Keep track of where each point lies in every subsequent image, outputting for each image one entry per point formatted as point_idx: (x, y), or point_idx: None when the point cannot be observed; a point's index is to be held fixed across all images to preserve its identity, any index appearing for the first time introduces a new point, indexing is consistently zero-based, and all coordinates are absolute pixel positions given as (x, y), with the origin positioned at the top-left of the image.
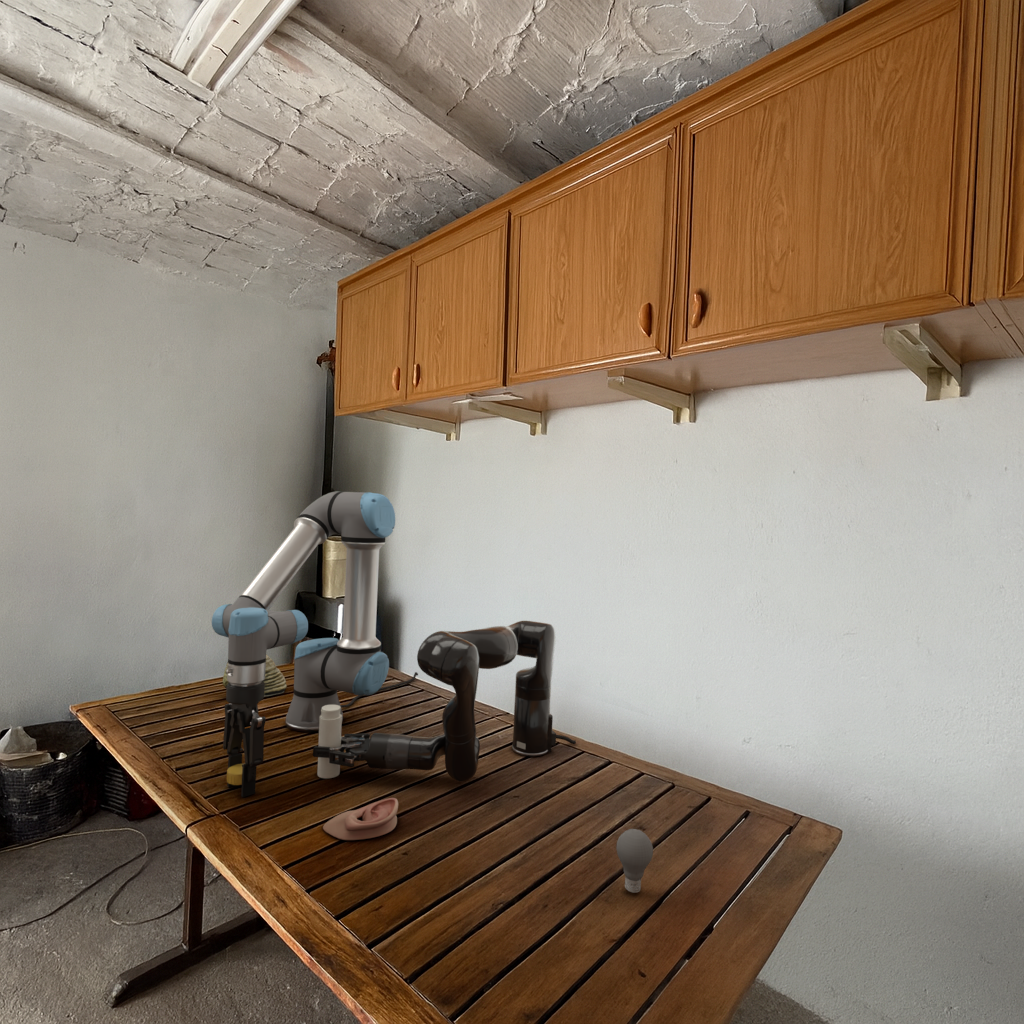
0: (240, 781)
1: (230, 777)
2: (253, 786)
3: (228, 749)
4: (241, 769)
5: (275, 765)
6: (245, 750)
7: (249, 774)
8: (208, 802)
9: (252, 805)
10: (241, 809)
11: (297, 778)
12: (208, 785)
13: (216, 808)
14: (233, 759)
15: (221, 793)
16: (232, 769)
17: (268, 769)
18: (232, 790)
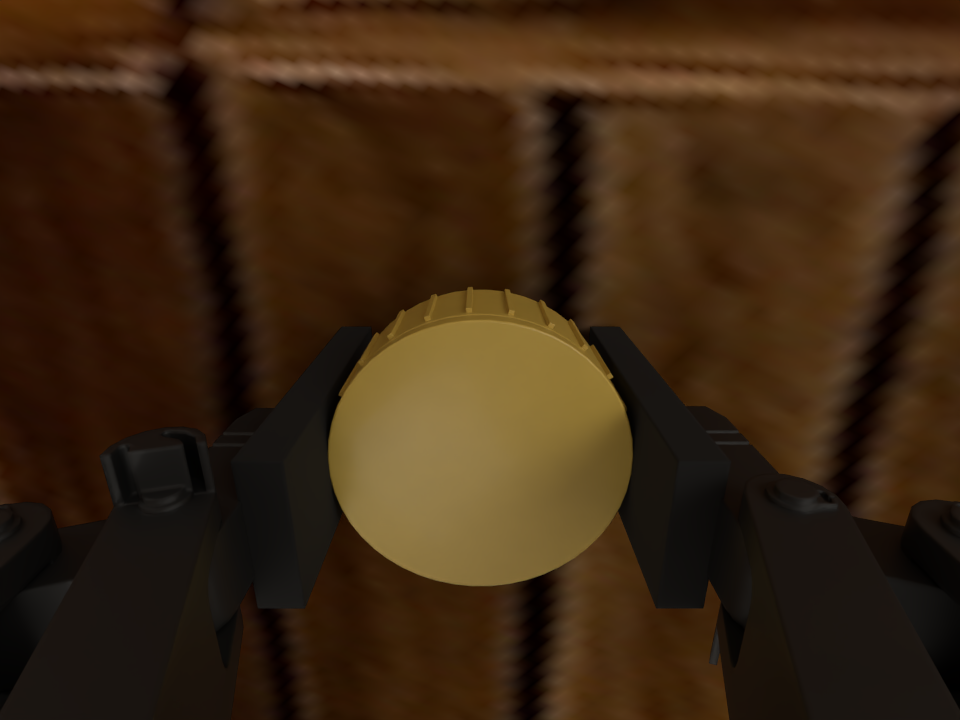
0: (357, 365)
1: (443, 312)
2: None
3: (812, 529)
4: (462, 456)
5: (676, 687)
6: (80, 677)
7: (215, 448)
8: (456, 77)
9: (179, 323)
10: (159, 231)
11: (396, 688)
12: (767, 227)
13: (297, 79)
14: (656, 481)
15: (542, 241)
16: (533, 388)
17: (656, 637)
18: None
